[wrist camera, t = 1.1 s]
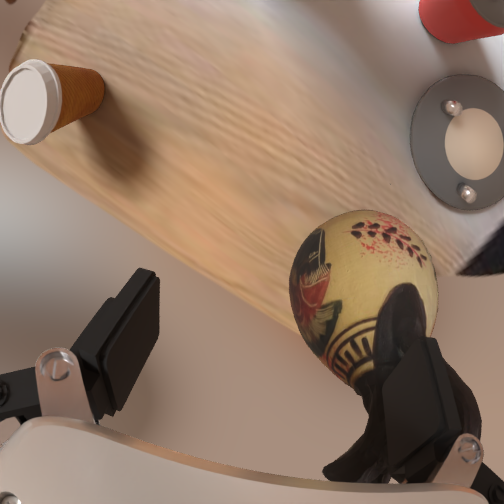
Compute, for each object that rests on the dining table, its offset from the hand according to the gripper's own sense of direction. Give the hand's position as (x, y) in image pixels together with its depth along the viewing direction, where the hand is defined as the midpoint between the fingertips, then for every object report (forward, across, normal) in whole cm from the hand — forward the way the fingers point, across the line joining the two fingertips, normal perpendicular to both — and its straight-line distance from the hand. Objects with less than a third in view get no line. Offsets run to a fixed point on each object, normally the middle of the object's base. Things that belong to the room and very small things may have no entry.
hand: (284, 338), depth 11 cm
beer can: (+28, -12, -21) cm, 37 cm away
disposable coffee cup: (+28, +28, -3) cm, 40 cm away
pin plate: (+28, -19, -8) cm, 34 cm away
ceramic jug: (+28, -10, +9) cm, 31 cm away
